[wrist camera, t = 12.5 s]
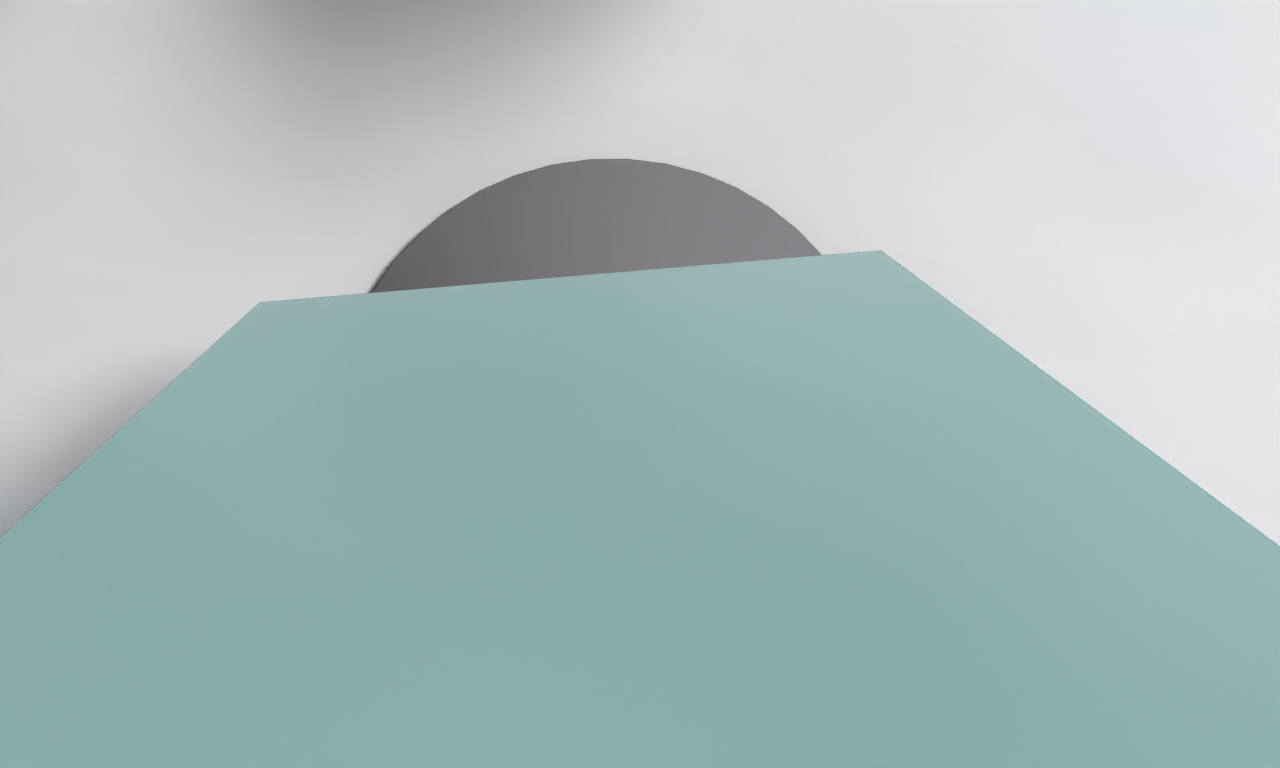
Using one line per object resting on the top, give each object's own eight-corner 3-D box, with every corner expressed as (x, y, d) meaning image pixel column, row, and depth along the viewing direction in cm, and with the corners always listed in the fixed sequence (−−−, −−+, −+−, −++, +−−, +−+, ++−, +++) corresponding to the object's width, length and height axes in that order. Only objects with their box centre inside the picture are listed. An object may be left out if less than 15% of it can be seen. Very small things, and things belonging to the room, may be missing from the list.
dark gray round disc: (868, 626, 20) (871, 631, 19) (390, 669, 19) (388, 675, 19) (879, 137, 16) (882, 138, 16) (293, 182, 16) (290, 183, 16)
